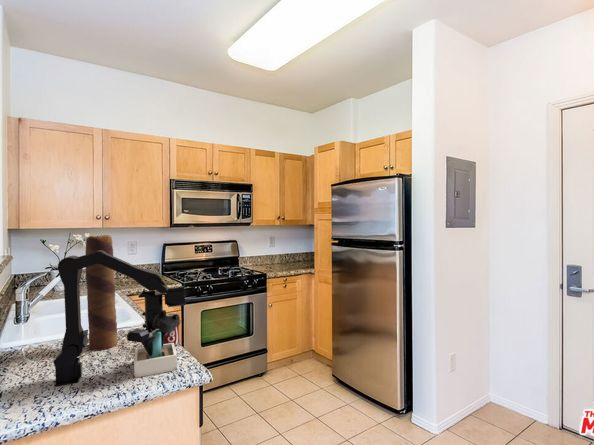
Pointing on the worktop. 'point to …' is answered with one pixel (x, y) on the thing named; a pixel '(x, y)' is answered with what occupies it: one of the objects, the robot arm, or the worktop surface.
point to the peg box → (155, 361)
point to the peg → (156, 345)
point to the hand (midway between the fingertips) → (155, 353)
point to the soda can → (172, 335)
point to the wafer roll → (101, 297)
